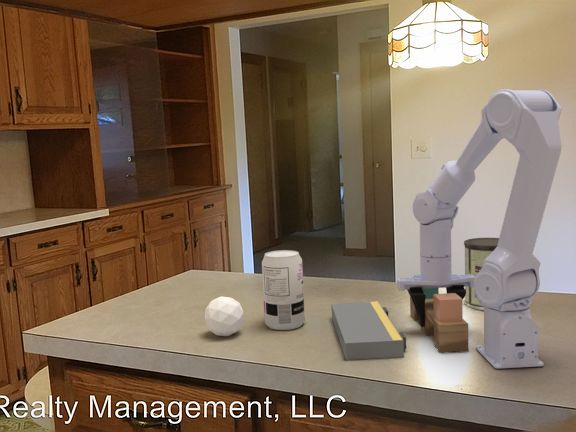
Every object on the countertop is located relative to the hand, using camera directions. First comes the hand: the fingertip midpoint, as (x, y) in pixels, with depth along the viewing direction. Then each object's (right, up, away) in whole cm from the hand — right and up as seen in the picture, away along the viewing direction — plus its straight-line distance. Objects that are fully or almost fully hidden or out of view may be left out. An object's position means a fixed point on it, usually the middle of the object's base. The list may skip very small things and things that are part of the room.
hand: (436, 324), depth 113 cm
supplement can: (-29, -2, +8) cm, 30 cm away
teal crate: (0, +4, +7) cm, 8 cm away
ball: (-41, -3, +4) cm, 41 cm away
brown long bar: (0, -1, 0) cm, 1 cm away
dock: (-14, -2, 0) cm, 14 cm away
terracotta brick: (0, +3, -8) cm, 8 cm away
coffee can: (+16, +1, +16) cm, 23 cm away
